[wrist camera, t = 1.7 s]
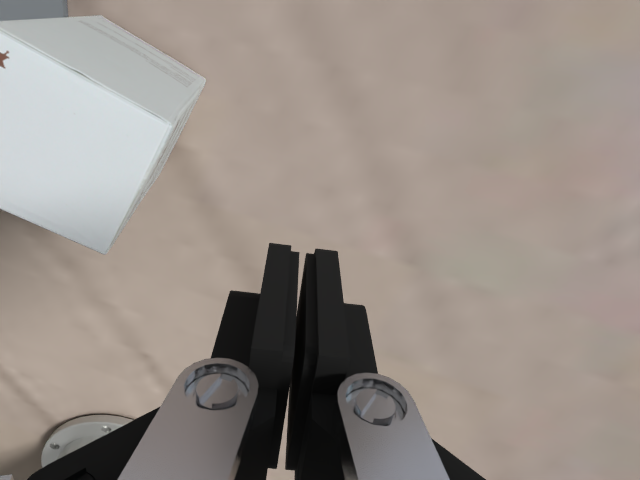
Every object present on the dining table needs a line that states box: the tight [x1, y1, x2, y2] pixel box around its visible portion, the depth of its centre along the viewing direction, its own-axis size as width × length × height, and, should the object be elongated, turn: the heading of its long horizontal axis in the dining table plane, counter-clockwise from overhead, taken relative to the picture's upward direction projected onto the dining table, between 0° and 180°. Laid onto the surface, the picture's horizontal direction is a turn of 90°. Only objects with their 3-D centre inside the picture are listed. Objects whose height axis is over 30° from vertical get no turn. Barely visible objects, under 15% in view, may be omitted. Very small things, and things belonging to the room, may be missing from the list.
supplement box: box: [0, 15, 206, 255], centre depth 24 cm, size 7×7×13 cm
